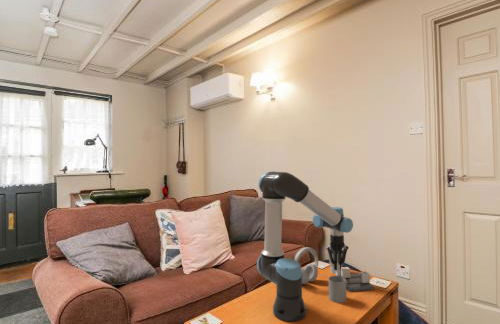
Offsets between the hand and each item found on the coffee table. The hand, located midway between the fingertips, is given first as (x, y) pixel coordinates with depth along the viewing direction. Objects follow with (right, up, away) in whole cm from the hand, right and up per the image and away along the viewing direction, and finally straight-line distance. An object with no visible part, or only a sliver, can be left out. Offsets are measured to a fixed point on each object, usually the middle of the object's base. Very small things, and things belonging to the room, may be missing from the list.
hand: (337, 275), depth 167 cm
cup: (-6, -4, -21) cm, 22 cm away
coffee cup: (+3, -4, +14) cm, 15 cm away
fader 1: (+5, -1, 0) cm, 5 cm away
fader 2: (+13, -1, -7) cm, 15 cm away
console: (+8, -3, -3) cm, 9 cm away
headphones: (-18, -4, -1) cm, 19 cm away
